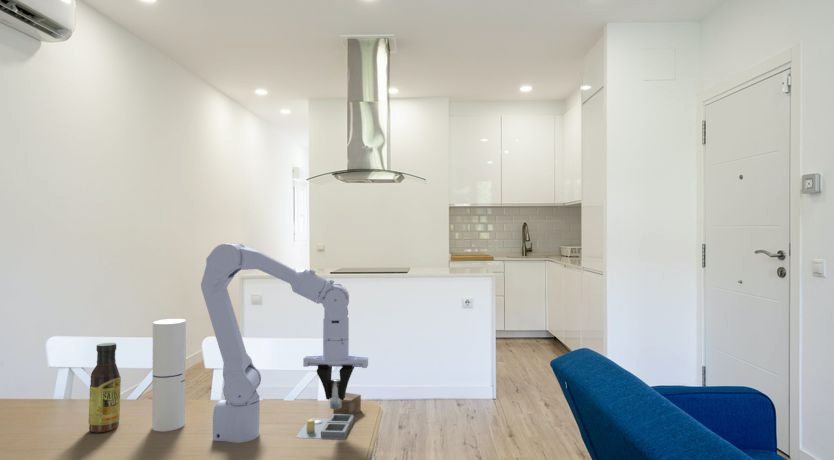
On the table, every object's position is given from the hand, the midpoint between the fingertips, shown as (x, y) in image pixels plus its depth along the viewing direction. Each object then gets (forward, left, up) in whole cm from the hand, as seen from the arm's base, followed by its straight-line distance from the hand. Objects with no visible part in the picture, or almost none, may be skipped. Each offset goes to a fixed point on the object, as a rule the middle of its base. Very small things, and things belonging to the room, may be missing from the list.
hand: (335, 398), depth 118 cm
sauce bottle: (-55, 0, -9) cm, 56 cm away
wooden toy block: (0, +13, -9) cm, 16 cm away
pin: (0, 0, -2) cm, 2 cm away
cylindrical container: (-41, +3, -9) cm, 42 cm away
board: (-3, +2, -9) cm, 10 cm away
